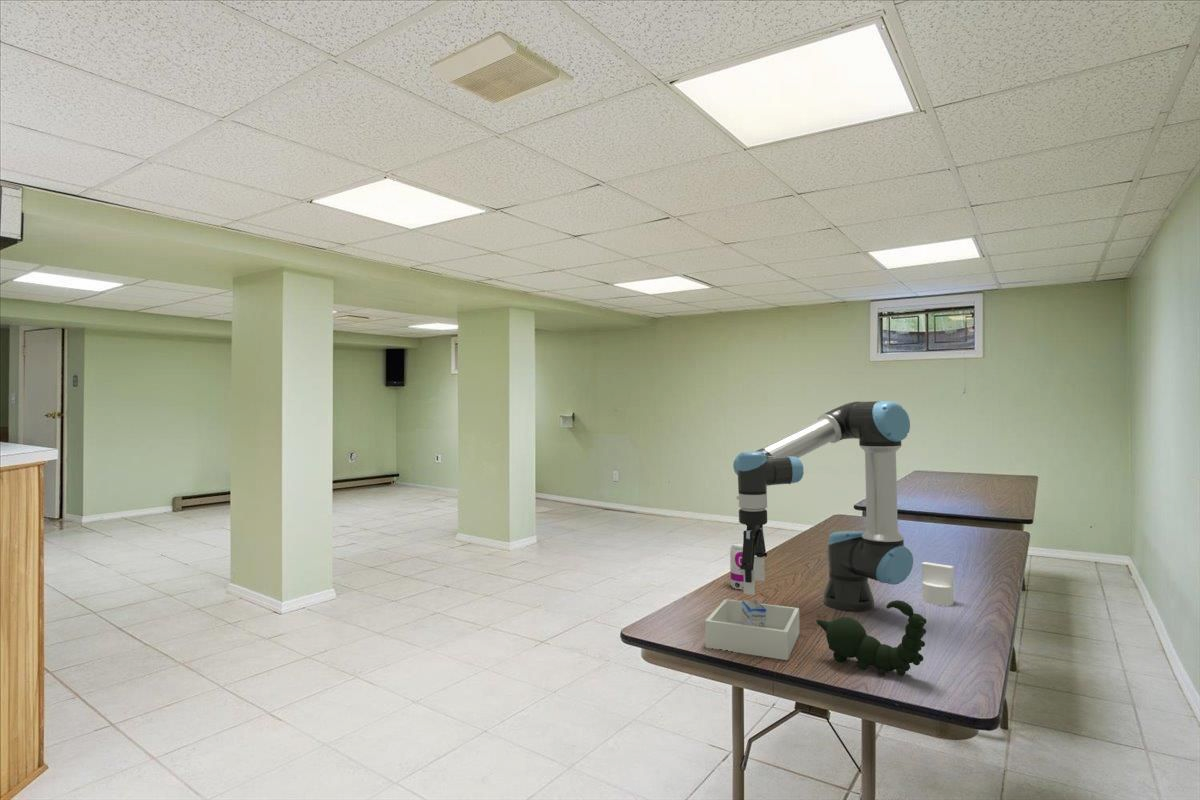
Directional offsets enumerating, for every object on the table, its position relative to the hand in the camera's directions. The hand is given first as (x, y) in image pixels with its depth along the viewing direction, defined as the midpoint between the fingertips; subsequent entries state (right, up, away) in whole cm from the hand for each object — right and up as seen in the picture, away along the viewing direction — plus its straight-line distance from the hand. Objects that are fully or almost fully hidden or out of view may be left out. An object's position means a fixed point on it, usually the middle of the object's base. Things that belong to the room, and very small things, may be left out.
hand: (754, 587), depth 175 cm
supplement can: (+8, -15, +50) cm, 53 cm away
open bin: (0, -14, 0) cm, 14 cm away
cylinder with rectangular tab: (+67, -15, +33) cm, 76 cm away
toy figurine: (+23, -14, -19) cm, 33 cm away
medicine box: (0, -14, 0) cm, 14 cm away
